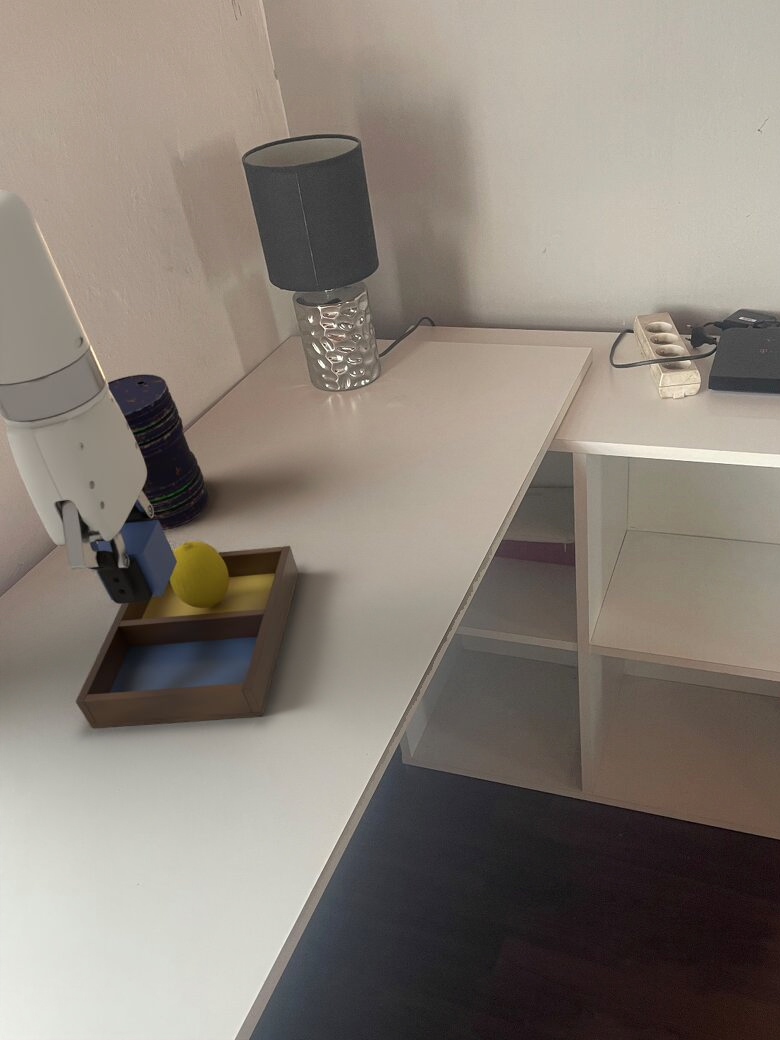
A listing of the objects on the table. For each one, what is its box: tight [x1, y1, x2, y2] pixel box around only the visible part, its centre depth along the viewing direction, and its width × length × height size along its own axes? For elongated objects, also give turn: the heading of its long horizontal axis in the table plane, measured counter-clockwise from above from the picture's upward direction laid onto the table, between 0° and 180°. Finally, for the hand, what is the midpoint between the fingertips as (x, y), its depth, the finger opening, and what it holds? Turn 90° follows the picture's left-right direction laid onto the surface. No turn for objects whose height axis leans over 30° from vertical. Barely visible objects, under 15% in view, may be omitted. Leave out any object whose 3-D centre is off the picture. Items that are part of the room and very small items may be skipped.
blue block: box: [95, 520, 177, 601], centre depth 72 cm, size 4×4×4 cm
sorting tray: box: [75, 545, 300, 729], centre depth 84 cm, size 16×20×4 cm
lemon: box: [170, 540, 229, 608], centre depth 85 cm, size 6×6×8 cm
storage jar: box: [107, 373, 210, 531], centre depth 100 cm, size 10×10×15 cm
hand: (143, 577), depth 73 cm, fingers closed on blue block, 4 cm apart
